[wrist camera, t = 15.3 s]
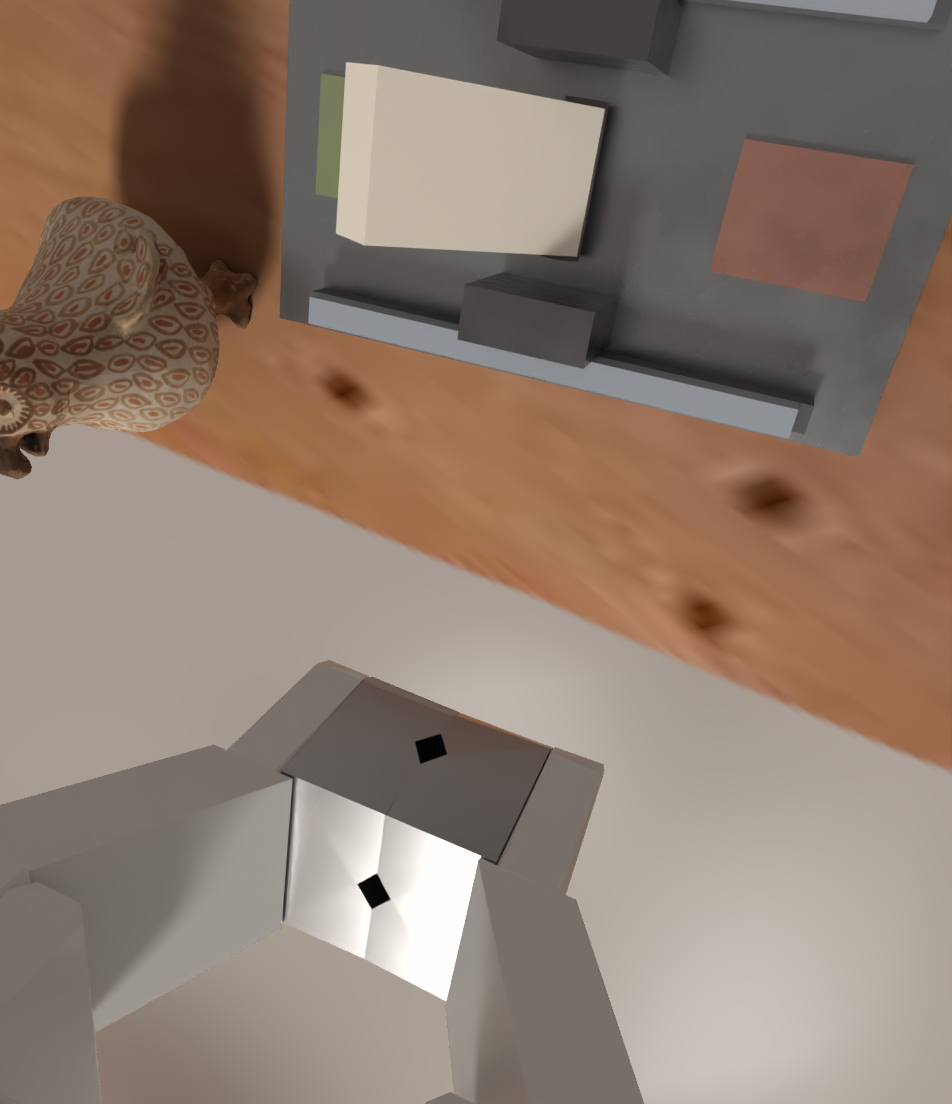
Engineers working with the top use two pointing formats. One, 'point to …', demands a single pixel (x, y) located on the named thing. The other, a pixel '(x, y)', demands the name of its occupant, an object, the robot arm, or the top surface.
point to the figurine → (108, 329)
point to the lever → (464, 165)
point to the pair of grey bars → (611, 374)
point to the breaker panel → (663, 187)
